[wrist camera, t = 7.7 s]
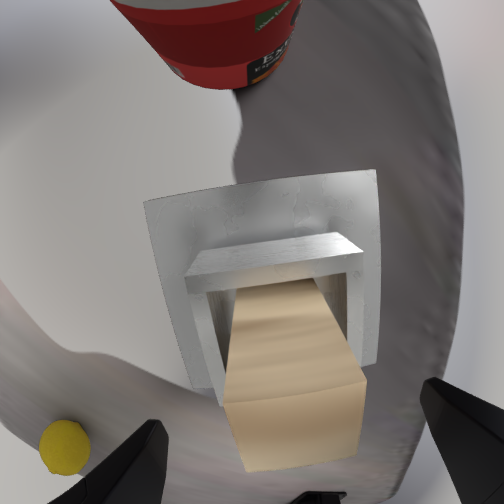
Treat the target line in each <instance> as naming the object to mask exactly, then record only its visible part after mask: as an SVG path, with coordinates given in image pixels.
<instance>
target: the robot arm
mask: <svg viewBox="0 0 504 504" xmlns="http://www.w3.org/2000/svg"><path fill="white" fill-rule="evenodd" d="M420 403H421V406H422V409H423V411H424V414H425V417H426V420H427V423H428V426H429V429H430V432H431V434H432V437H433V439H434V441H435V443H436V445H437V447H438V450H439V452H440V454H441V456H442V458H443V461H444V463H445V465H446V467H447V470H448V472H449V474H450V476H451V479H452V481H453V484H454V486H455V488H456V491H457V493H458V496H459V498H460V501H461V503H462V504H504V410H503V409H501V408H499V407H497V406H495V405H493V404H491V403H488V402H486V401H484V400H482V399H480V398H478V397H476V396H473V395H472V394H469V393H467V392H465V391H463V390H461V389H459V388H456V387H455V386H453V385H451V384H449V383H447V382H445V381H443V380H441V379H439V378H436V377H432V378H429V379H427V380H425V381H424V383H423V387H422V390H421V394H420ZM168 442H169V437H168V434H167V432H166V430H165V428H164V426H163V424H162V422H161V421H160V420H156V419H149V420H147V421H146V422H145V423H144V424H143V425H142V426H140V427H139V428H138V429H137V430H136V431H135V432H134V433H133V434H132V435H131V436H130V437H129V438H128V439H126V440H125V441H124V442H123V443H122V444H121V445H120V446H119V447H118V448H117V449H115V450H114V451H113V452H112V453H111V454H110V455H109V456H108V457H107V458H105V459H104V460H103V461H102V462H101V463H100V464H99V465H98V466H96V467H95V468H94V469H93V470H92V471H91V472H89V473H88V474H87V475H86V476H85V477H84V478H82V479H81V480H80V481H79V482H78V483H76V484H75V485H74V486H73V487H71V488H70V489H69V490H67V491H66V492H65V493H63V494H62V495H60V496H59V497H57V498H56V499H54V500H52V501H51V502H49V503H47V504H161V499H162V494H163V489H164V484H165V478H166V470H167V455H168ZM345 496H347V493H346V492H306V493H305V494H303V495H302V496H301V497H299V498H298V499H297V500H296V501H294V502H293V503H292V504H341V502H340V500H341V499H343V498H344V497H345Z"/></svg>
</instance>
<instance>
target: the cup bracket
mask: <svg viewBox="0 0 504 504" xmlns="http://www.w3.org/2000/svg"><path fill="white" fill-rule="evenodd" d="M143 203H144V208H145V214H146V219H147V223H148V229H149V233H150V238H151V243H152V247H153V251H154V256H155V260H156V264H157V269H158V273H159V277H160V281H161V285H162V289H163V292H164V296H165V299H166V304H167V307H168V311H169V314H170V318H171V321H172V325H173V328H174V332H175V335H176V338H177V341H178V344H179V348H180V351H181V354H182V357H183V360H184V363H185V366H186V369H187V372H188V375H189V378H190V381H191V383H192V387H193V389H204V388H214V391H215V394H216V397H217V400H218V404H219V407H221V406H223V395H224V387H225V378H226V370H227V362H228V353H229V345H230V337H231V329H232V321H233V313H234V305H235V297H236V289H237V288H242V287H250V286H257V285H265V284H272V283H279V282H286V281H293V280H299V279H306V278H313V279H314V281H315V283H316V284H317V286H318V288H319V290H320V292H321V294H322V295H323V297H324V299H325V301H326V303H327V305H328V306H329V308H330V310H331V312H332V314H333V316H334V318H335V320H336V321H337V323H338V325H339V327H340V329H341V331H342V333H343V335H344V337H345V339H346V341H347V342H348V344H349V346H350V348H351V350H352V352H353V354H354V356H355V358H356V360H357V362H358V364H359V366H360V368H361V367H362V366H366V365H370V364H374V363H376V358H377V347H378V334H379V318H380V293H381V245H380V220H379V204H378V191H377V180H376V170H355V171H343V172H332V173H322V174H312V175H303V176H294V177H286V178H278V179H270V180H263V181H256V182H249V183H242V184H236V185H230V186H223V187H217V188H211V189H206V190H199V191H194V192H188V193H183V194H178V195H173V196H167V197H162V198H157V199H153V200H148V201H145V202H143Z"/></svg>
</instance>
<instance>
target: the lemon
mask: <svg viewBox="0 0 504 504" xmlns="http://www.w3.org/2000/svg"><path fill="white" fill-rule="evenodd" d="M39 452H40V456H41V458H42V460H43V462H44V463H45V465H46V466H47V467H48V470H49V471H50V472H51V473H53V474H59V475H64V476H69V475H74V474H76V473H78V472H79V471H80V470H81V469H82V468H83V467H84V466H85V464H86V463H87V461H88V459H89V456H90V441H89V438H88V436H87V434H86V433H85V431H84V430H83V429H82V427H81V425H80V424H79V423H78V422H72V421H68V420H58V421H55V422H53V423H51V424H50V425H49V426H48V427H47V428H46V429H45V431H44V432H43V434H42V436H41V439H40V443H39Z"/></svg>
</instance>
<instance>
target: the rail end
mask: <svg viewBox="0 0 504 504" xmlns="http://www.w3.org/2000/svg"><path fill="white" fill-rule="evenodd" d="M366 384H367V380H366V378H365V376H364V374H363V372H362V370H361V368H360V366H359V364H358V362H357V360H356V358H355V356H354V354H353V352H352V350H351V348H350V346H349V344H348V342H347V341H346V339H345V337H344V335H343V333H342V331H341V329H340V327H339V325H338V323H337V321H336V320H335V318H334V316H333V314H332V312H331V310H330V308H329V306H328V305H327V303H326V301H325V299H324V297H323V295H322V294H321V292H320V290H319V288H318V286H317V284H316V283H315V281H314V279H313V278H306V279H299V280H293V281H286V282H279V283H272V284H265V285H257V286H250V287H242V288H237V289H236V297H235V305H234V313H233V321H232V329H231V337H230V345H229V353H228V362H227V370H226V378H225V387H224V395H223V406H224V410H225V413H226V416H227V419H228V422H229V425H230V427H231V430H232V433H233V436H234V439H235V442H236V445H237V447H238V450H239V453H240V456H241V458H242V461H243V464H244V466H245V469H246V472H261V471H272V470H281V469H289V468H296V467H302V466H309V465H314V464H320V463H325V462H330V461H335V460H339V459H344V458H348V457H352V456H356V455H357V449H358V444H359V438H360V431H361V425H362V418H363V410H364V403H365V394H366Z"/></svg>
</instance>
